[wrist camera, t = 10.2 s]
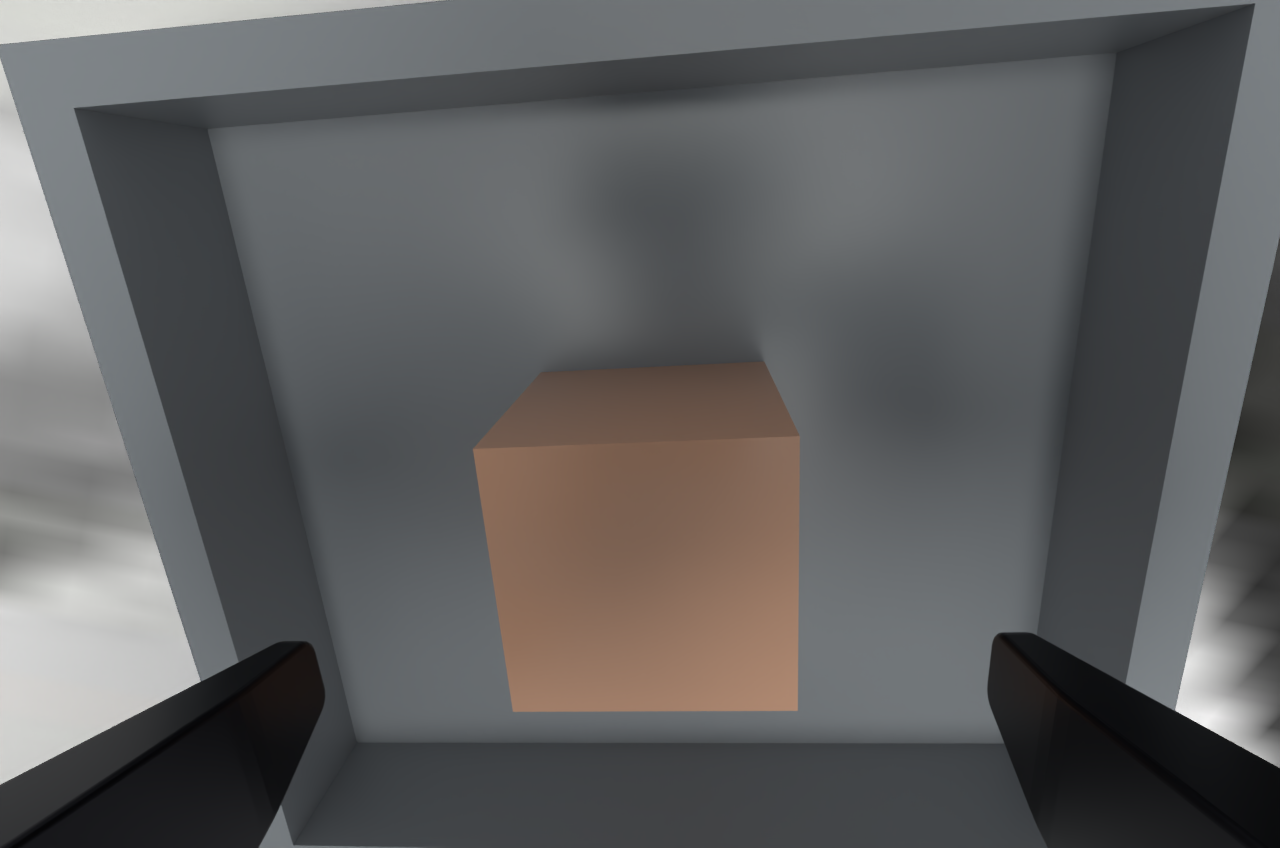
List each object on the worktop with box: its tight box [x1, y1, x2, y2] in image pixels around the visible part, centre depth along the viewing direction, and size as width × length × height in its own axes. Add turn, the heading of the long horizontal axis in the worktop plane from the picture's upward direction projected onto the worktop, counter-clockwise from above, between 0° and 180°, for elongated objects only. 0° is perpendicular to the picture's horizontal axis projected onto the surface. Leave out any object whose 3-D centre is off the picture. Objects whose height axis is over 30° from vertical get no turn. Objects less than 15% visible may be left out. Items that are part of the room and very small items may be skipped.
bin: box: [0, 0, 1280, 848], centre depth 15 cm, size 20×18×4 cm
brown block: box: [473, 361, 800, 712], centre depth 13 cm, size 5×5×5 cm
